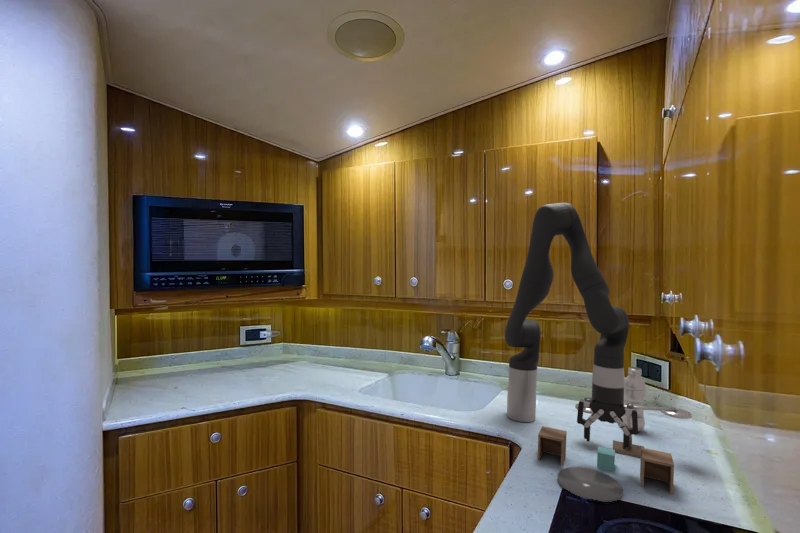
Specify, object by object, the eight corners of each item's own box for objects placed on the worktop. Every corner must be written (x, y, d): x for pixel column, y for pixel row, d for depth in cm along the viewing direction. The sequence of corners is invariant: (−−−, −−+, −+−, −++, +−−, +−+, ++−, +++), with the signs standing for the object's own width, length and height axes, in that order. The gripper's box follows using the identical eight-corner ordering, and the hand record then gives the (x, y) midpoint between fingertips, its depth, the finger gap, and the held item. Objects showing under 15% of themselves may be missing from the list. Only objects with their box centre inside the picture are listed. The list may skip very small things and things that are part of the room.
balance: (572, 443, 122) (574, 394, 122) (575, 435, 128) (576, 388, 128) (691, 469, 109) (693, 414, 108) (687, 458, 115) (689, 406, 115)
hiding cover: (541, 450, 117) (542, 426, 117) (565, 456, 114) (566, 431, 114) (537, 460, 112) (538, 434, 111) (562, 466, 109) (563, 439, 108)
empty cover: (640, 474, 105) (641, 447, 105) (669, 481, 102) (671, 453, 102) (641, 486, 100) (642, 457, 100) (672, 494, 97) (674, 464, 97)
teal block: (597, 461, 112) (598, 446, 112) (614, 464, 110) (614, 449, 110) (596, 467, 109) (597, 452, 109) (614, 471, 107) (614, 456, 107)
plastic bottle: (649, 433, 131) (652, 370, 130) (630, 434, 130) (632, 371, 129) (634, 425, 137) (637, 365, 137) (616, 426, 136) (618, 365, 136)
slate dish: (546, 473, 105) (546, 469, 105) (594, 468, 108) (595, 464, 108) (581, 506, 91) (581, 501, 91) (636, 499, 94) (636, 495, 94)
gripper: (577, 381, 109) (575, 443, 109) (639, 391, 102) (637, 456, 102) (579, 375, 116) (578, 433, 116) (638, 383, 109) (637, 445, 109)
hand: (606, 444), depth 109 cm, fingers open, 8 cm apart
